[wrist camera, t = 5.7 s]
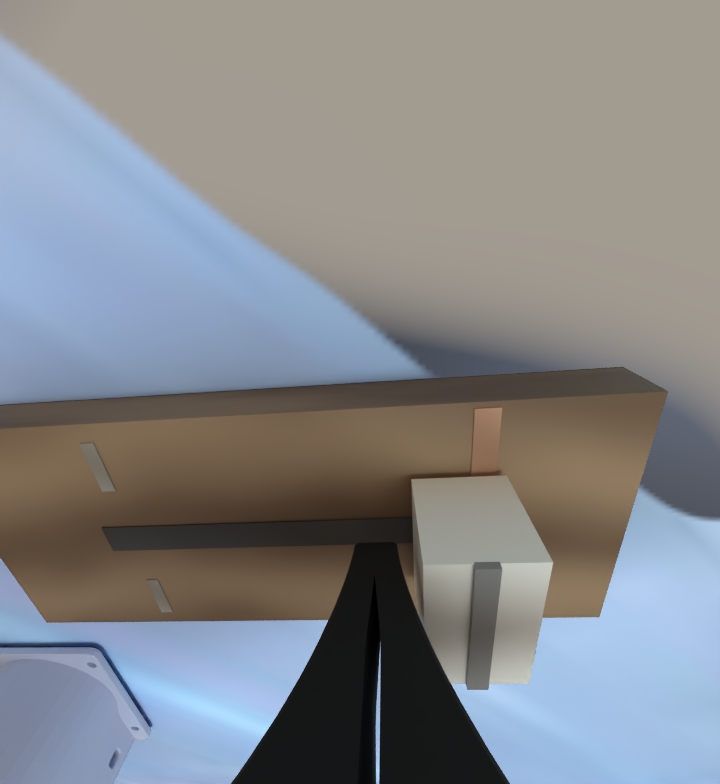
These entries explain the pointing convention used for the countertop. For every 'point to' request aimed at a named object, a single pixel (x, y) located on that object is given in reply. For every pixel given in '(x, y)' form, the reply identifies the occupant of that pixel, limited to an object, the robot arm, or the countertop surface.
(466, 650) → the fader knob
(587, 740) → the countertop surface
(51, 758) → the robot arm
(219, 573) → the fader console
